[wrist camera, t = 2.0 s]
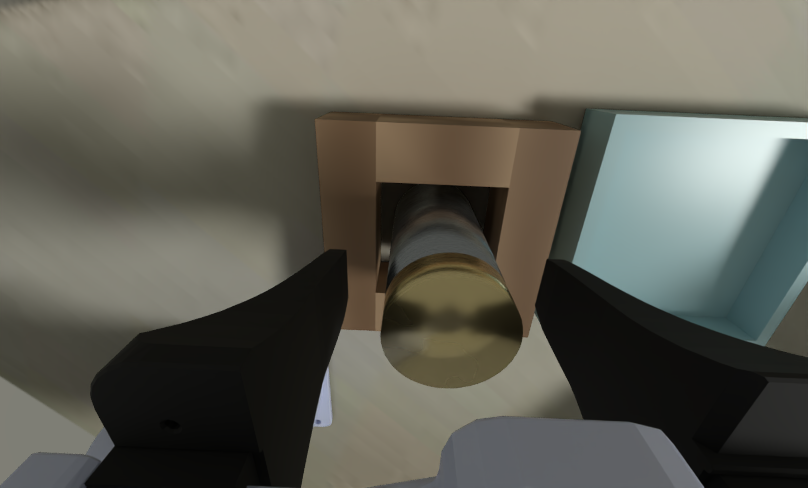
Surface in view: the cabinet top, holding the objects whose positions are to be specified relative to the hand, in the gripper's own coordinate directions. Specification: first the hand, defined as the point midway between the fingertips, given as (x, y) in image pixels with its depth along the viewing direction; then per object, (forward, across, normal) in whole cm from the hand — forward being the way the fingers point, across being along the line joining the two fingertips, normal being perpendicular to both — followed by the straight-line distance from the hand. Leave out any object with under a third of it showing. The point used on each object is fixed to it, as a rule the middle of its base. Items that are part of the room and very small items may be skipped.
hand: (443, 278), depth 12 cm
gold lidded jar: (+6, 0, 0) cm, 6 cm away
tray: (+6, -12, 0) cm, 13 cm away
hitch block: (+6, 0, 0) cm, 6 cm away
